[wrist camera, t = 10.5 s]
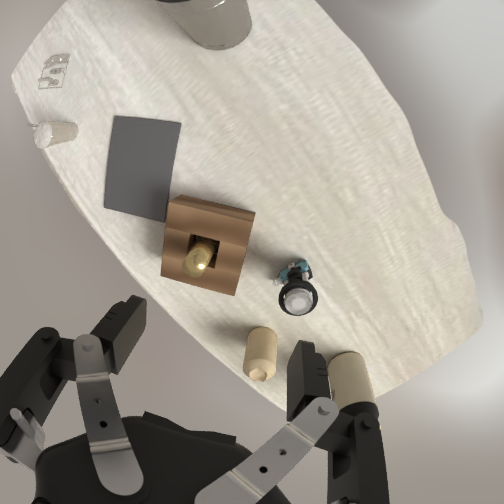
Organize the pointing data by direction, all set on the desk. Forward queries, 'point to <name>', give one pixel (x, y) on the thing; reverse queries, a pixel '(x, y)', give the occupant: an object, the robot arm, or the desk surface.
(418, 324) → the desk surface
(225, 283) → the socket block
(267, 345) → the candle
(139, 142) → the mat
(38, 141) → the milkshake
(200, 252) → the pin
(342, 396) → the travel mug
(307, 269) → the push button
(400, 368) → the desk surface
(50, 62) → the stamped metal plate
